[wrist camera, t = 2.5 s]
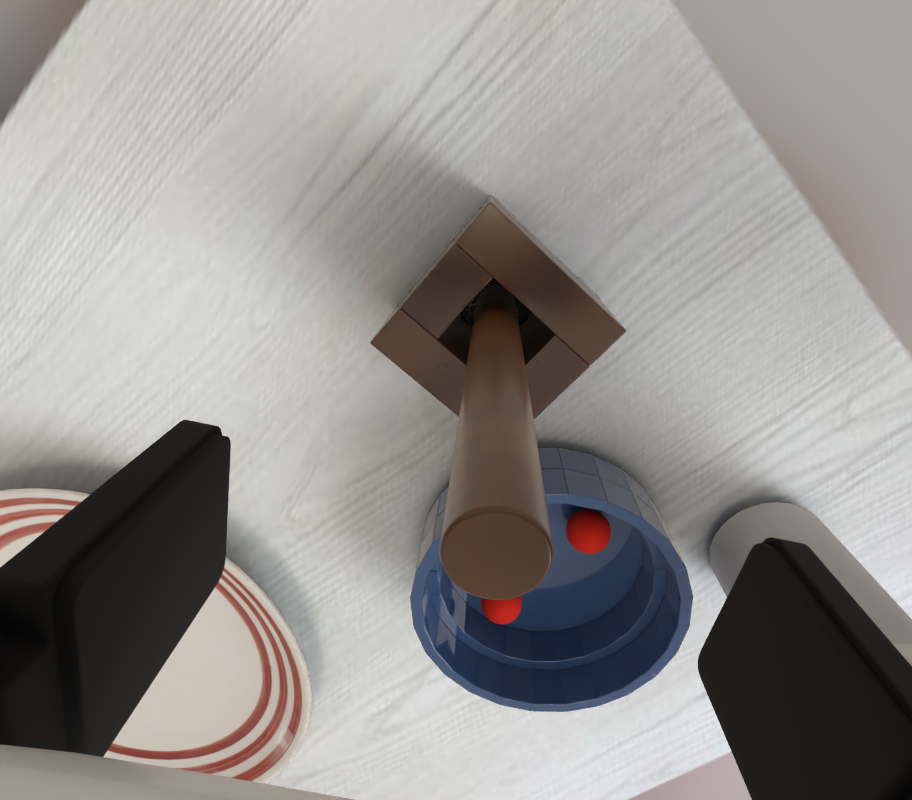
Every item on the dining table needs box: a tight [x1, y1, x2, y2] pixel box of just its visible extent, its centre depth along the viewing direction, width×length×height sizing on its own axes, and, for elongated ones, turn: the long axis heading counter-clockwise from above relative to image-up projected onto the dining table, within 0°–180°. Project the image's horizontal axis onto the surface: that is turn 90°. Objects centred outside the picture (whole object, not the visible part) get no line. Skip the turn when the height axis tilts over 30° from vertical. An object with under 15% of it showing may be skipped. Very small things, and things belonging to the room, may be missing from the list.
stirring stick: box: [440, 286, 554, 600], centre depth 19 cm, size 2×2×20 cm
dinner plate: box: [0, 488, 312, 784], centre depth 37 cm, size 28×27×3 cm
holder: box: [371, 196, 626, 419], centre depth 25 cm, size 7×7×6 cm
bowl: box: [410, 448, 693, 712], centre depth 31 cm, size 14×14×6 cm
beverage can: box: [710, 502, 912, 666], centre depth 27 cm, size 6×6×12 cm
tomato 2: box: [566, 509, 611, 554], centre depth 31 cm, size 2×2×2 cm
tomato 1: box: [481, 596, 522, 624], centre depth 33 cm, size 2×2×2 cm
